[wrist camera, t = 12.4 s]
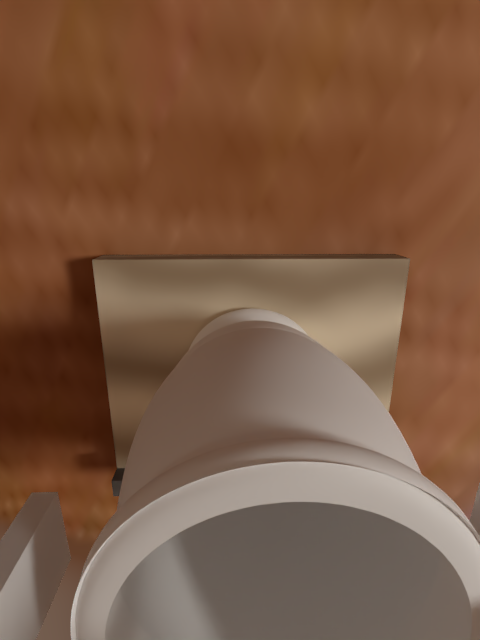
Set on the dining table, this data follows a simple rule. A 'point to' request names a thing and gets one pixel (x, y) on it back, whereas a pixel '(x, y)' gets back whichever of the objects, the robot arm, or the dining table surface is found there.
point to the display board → (234, 294)
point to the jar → (275, 508)
